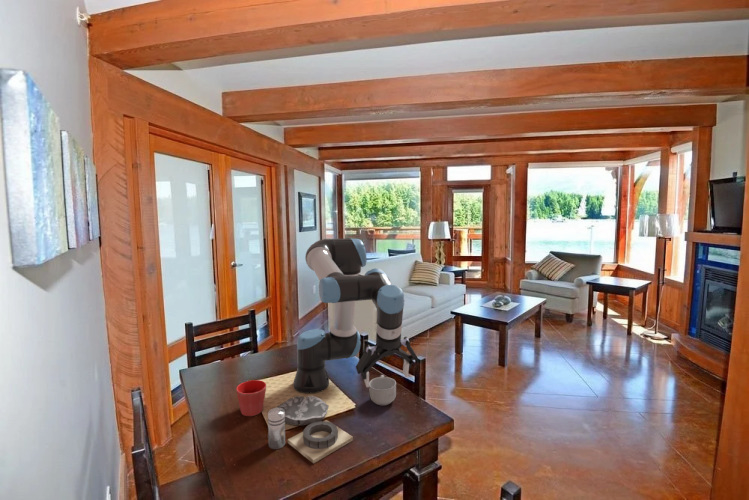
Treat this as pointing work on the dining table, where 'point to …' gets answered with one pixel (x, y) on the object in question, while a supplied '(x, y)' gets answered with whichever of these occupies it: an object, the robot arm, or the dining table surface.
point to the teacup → (382, 390)
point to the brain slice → (304, 410)
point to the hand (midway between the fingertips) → (386, 379)
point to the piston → (276, 428)
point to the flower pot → (251, 397)
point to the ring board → (321, 452)
